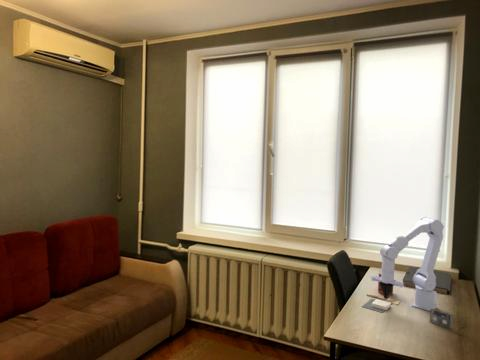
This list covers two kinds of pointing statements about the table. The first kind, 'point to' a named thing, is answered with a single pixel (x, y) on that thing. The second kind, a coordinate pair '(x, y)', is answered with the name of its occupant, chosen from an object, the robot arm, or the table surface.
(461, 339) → the table surface
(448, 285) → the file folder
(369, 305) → the mat
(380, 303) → the tile
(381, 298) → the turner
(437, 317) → the mini dv tape
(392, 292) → the canned food
